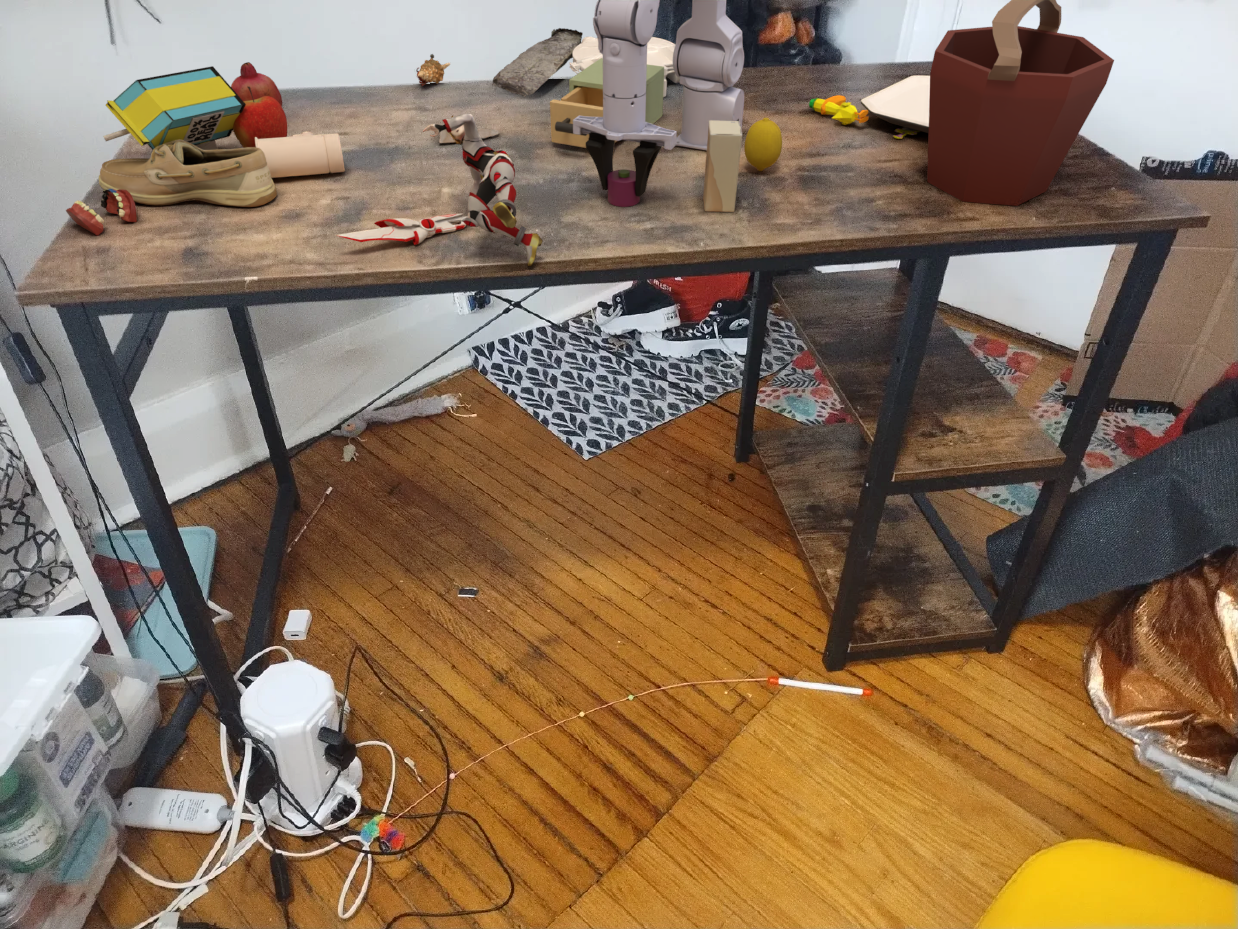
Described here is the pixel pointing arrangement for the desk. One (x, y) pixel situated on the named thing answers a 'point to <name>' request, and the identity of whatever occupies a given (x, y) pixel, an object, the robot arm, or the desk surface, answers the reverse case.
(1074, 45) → the bucket
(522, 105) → the desk surface
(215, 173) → the boat shoe
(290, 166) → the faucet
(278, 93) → the fruit
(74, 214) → the dental model
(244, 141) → the apple
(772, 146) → the lemon
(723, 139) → the box
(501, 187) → the anime character
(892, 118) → the plate
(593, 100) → the drawer
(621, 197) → the mangosteen
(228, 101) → the carton
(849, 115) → the toy figure
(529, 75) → the stone
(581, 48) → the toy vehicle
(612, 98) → the robot arm
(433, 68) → the figurine
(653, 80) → the cabinet
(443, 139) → the arrowhead
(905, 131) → the decorative knife
